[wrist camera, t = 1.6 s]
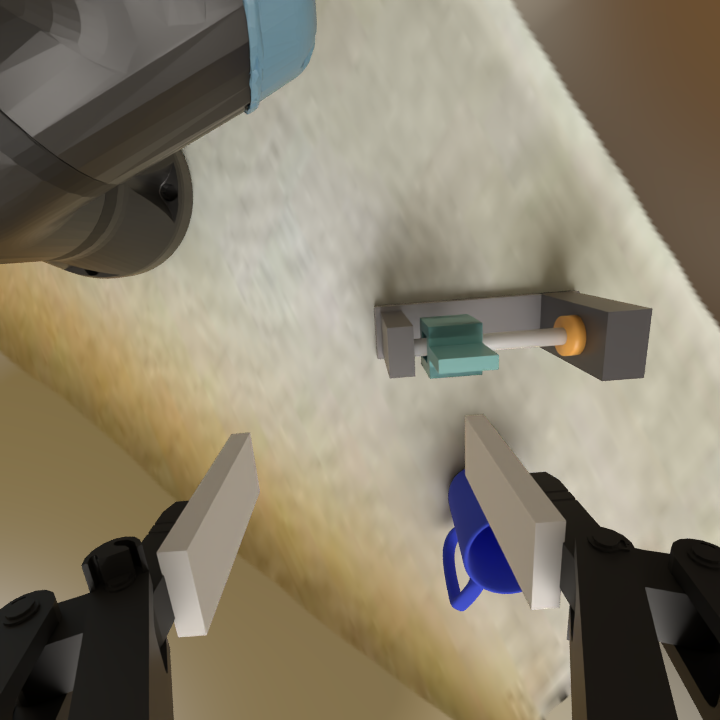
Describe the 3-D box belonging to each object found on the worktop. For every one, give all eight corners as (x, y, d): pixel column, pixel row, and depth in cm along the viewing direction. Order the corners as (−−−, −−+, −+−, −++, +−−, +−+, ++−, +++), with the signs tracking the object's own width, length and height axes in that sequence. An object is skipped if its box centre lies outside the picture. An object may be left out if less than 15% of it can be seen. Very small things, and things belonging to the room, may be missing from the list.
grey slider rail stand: (377, 356, 40) (386, 397, 29) (374, 306, 38) (382, 329, 28) (571, 341, 40) (650, 377, 29) (574, 290, 38) (659, 308, 28)
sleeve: (421, 363, 35) (439, 394, 28) (419, 317, 34) (438, 337, 26) (467, 360, 35) (498, 390, 28) (467, 313, 34) (499, 332, 26)
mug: (406, 526, 45) (420, 602, 36) (467, 441, 42) (501, 498, 33) (466, 556, 46) (496, 637, 37) (530, 475, 44) (580, 541, 34)
